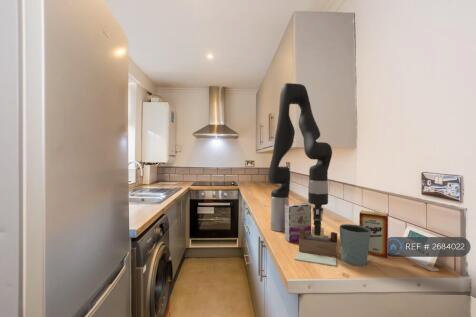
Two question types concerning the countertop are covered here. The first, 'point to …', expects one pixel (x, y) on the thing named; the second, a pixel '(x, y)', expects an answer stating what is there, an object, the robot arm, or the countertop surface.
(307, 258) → the mat
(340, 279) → the countertop surface
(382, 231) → the baking soda box
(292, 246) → the countertop surface
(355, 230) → the teal cup
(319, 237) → the lever cap
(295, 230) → the candy bar box
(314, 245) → the body
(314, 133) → the robot arm
